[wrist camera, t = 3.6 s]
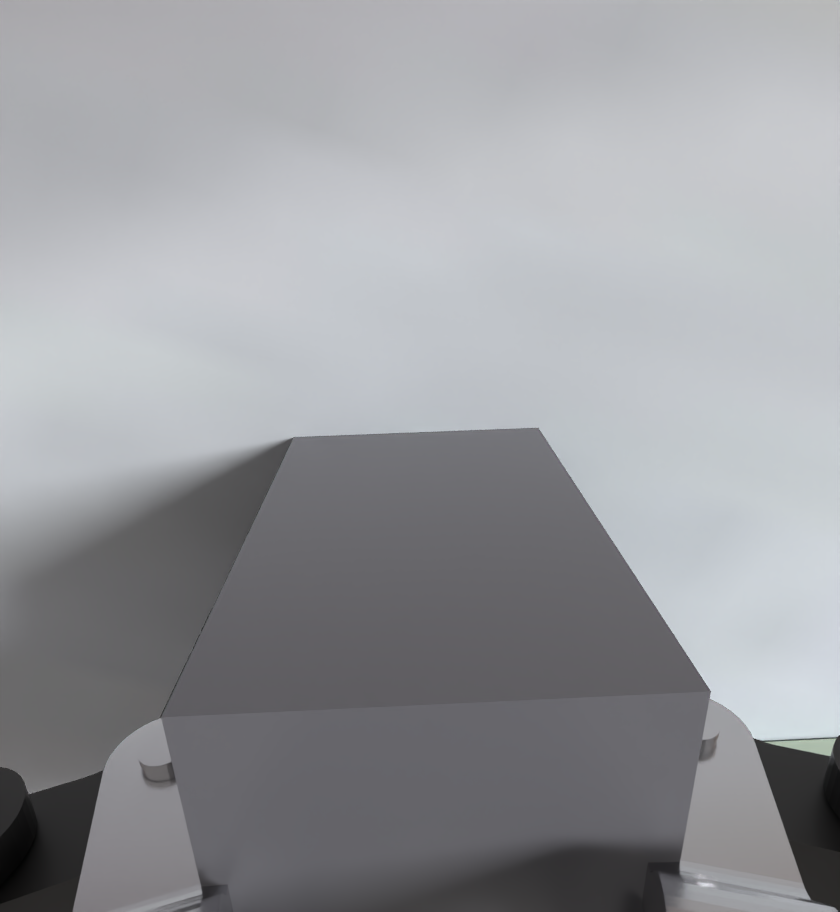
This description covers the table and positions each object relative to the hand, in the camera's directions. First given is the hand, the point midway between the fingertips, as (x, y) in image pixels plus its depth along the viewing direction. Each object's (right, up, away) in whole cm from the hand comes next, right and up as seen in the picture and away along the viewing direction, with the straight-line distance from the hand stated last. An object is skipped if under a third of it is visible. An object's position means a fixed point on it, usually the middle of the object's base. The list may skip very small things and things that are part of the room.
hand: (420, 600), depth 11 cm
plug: (0, 0, 0) cm, 0 cm away
